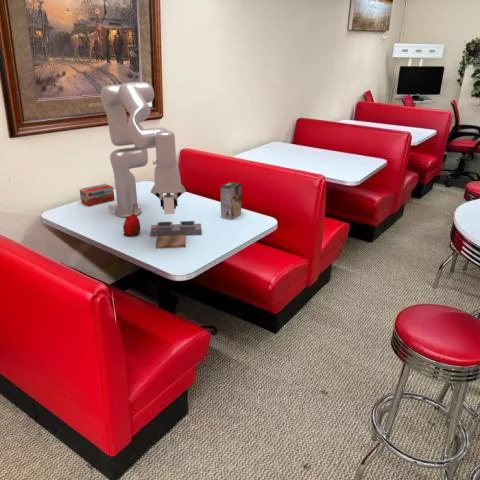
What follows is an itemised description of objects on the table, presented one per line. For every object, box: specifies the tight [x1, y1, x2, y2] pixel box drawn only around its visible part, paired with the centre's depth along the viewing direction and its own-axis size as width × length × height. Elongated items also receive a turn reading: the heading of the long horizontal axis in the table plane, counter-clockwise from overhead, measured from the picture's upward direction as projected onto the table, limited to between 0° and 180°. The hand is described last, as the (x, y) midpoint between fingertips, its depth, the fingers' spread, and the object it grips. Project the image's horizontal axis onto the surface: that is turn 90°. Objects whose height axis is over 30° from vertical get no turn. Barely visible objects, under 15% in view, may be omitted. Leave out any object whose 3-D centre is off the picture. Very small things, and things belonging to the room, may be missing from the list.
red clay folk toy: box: [122, 203, 141, 237], centre depth 186 cm, size 8×7×15 cm
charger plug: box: [163, 193, 176, 215], centre depth 174 cm, size 4×4×8 cm
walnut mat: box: [155, 235, 187, 249], centre depth 182 cm, size 12×10×1 cm
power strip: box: [149, 220, 202, 238], centre depth 191 cm, size 22×7×4 cm, turn 96°
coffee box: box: [219, 181, 242, 221], centre depth 207 cm, size 9×6×16 cm
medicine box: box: [79, 183, 115, 207], centre depth 226 cm, size 15×8×8 cm, turn 134°
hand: (169, 207), depth 175 cm, fingers closed on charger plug, 4 cm apart
